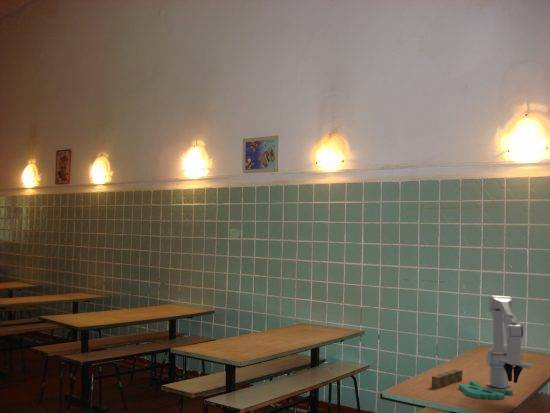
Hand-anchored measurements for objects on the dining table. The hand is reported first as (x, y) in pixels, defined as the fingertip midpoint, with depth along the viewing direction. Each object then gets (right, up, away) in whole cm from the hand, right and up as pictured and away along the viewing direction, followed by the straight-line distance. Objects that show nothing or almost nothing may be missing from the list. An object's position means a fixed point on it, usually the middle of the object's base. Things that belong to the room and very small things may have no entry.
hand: (512, 381), depth 249 cm
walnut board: (-22, -8, +23) cm, 33 cm away
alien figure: (-10, -9, +10) cm, 17 cm away
